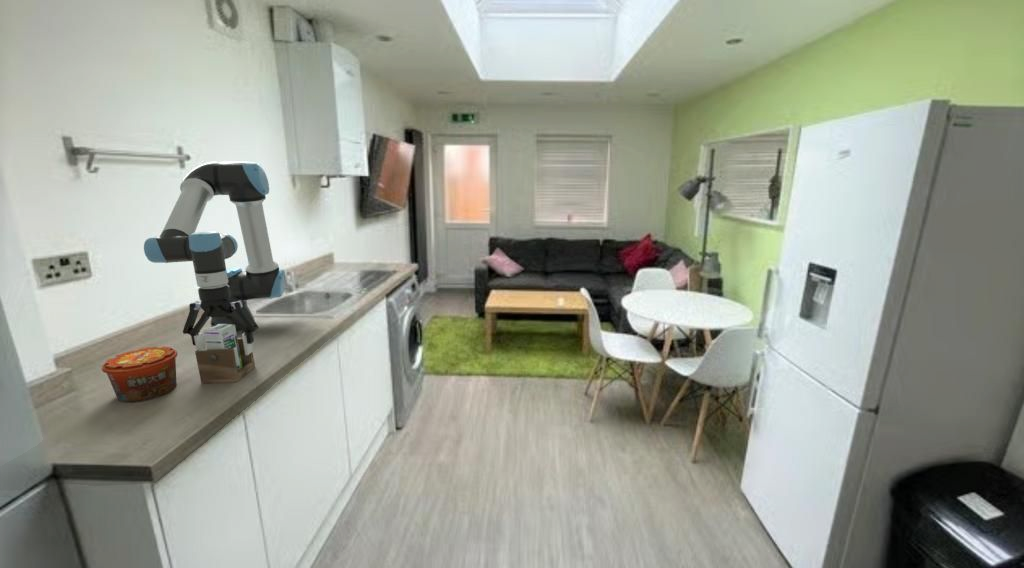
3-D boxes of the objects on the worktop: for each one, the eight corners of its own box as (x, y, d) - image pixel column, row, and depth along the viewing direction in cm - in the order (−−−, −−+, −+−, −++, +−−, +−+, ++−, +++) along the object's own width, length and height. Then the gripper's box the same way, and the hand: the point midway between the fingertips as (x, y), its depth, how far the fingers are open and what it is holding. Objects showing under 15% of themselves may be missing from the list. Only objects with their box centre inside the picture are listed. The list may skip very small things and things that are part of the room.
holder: (223, 367, 137) (218, 337, 134) (256, 366, 137) (251, 336, 135) (199, 384, 125) (193, 352, 123) (235, 383, 126) (229, 351, 123)
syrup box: (229, 376, 128) (220, 330, 124) (211, 375, 128) (202, 329, 125) (243, 368, 133) (235, 323, 130) (226, 367, 134) (218, 323, 130)
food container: (180, 395, 119) (173, 359, 116) (103, 412, 111) (93, 373, 108) (186, 374, 132) (179, 341, 129) (117, 387, 124) (108, 352, 121)
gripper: (158, 290, 120) (173, 360, 125) (251, 287, 122) (262, 357, 127) (177, 283, 127) (190, 350, 132) (264, 281, 129) (274, 348, 134)
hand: (225, 354), depth 129 cm, fingers open, 13 cm apart
